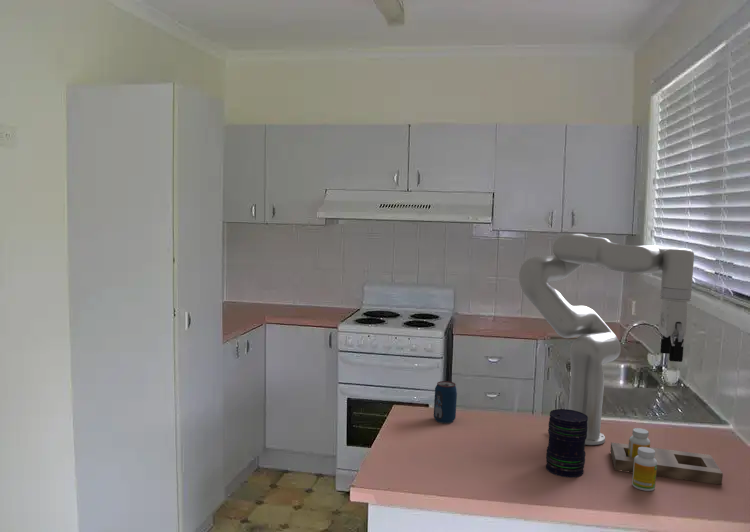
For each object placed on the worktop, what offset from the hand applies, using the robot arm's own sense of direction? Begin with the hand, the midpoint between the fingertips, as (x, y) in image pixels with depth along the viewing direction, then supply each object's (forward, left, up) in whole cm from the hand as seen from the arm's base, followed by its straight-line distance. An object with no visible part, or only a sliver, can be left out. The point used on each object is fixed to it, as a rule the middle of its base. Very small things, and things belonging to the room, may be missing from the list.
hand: (671, 357), depth 180 cm
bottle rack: (0, -3, -30) cm, 30 cm away
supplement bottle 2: (-7, -18, -30) cm, 36 cm away
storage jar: (-26, -14, -30) cm, 42 cm away
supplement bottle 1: (-6, -3, -30) cm, 31 cm away
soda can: (-62, +13, -30) cm, 70 cm away
